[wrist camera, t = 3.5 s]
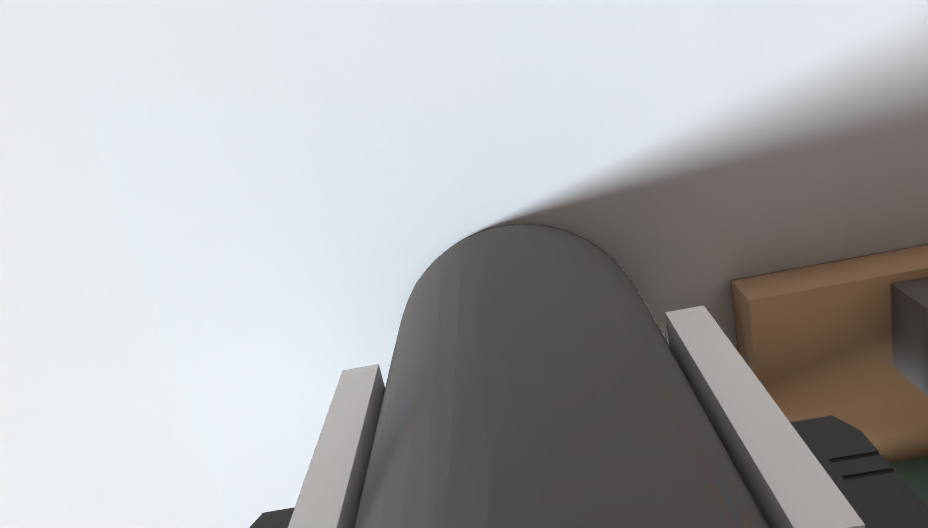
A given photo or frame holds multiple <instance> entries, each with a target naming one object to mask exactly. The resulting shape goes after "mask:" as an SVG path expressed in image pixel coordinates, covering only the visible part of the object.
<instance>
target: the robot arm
mask: <svg viewBox="0 0 928 528" xmlns="http://www.w3.org/2000/svg"><path fill="white" fill-rule="evenodd" d="M665 314H666V322H667V330H668V338H669V345H670V349H671V351H672V353H673V355H674V356H675V358H676V360H677V362H678V364H679V365H680V367H681V369H682V371H683V373H684V374H685V376H686V378H687V380H688V382H689V383H690V385H691V387H692V389H693V391H694V392H695V394H696V396H697V398H698V400H699V401H700V403H701V405H702V407H703V409H704V410H705V412H706V414H707V416H708V418H709V419H710V421H711V423H712V425H713V427H714V428H715V430H716V432H717V434H718V436H719V437H720V439H721V441H722V443H723V445H724V447H725V448H726V450H727V452H728V454H729V456H730V457H731V459H732V461H733V463H734V465H735V466H736V468H737V470H738V472H739V474H740V475H741V477H742V479H743V481H744V483H745V484H746V486H747V488H748V490H749V492H750V493H751V495H752V497H753V499H754V501H755V502H756V504H757V506H758V508H759V510H760V511H761V513H762V515H763V517H764V519H765V520H766V522H767V524H768V526H769V528H928V506H927V505H926V504H925V503H924V502H923V500H922V499H921V498H920V497H919V496H918V495H917V494H916V493H915V491H914V490H913V489H912V488H911V487H910V486H909V485H908V483H907V482H906V481H905V480H904V479H903V478H902V477H901V476H900V474H899V473H898V472H895V471H894V468H893V466H892V465H891V464H890V463H889V462H888V461H887V460H886V459H885V457H884V456H883V455H880V454H879V451H878V449H877V448H876V447H875V446H874V445H873V444H872V443H871V442H870V440H869V439H868V438H867V437H866V436H865V435H864V434H863V432H862V431H861V430H859V429H857V428H855V427H853V426H851V425H849V424H848V423H846V422H844V421H842V420H840V419H838V418H836V417H834V416H833V415H831V416H825V417H819V418H813V419H807V420H801V421H795V422H789V420H788V419H787V418H786V416H785V415H784V414H783V412H782V411H781V410H780V408H779V407H778V406H777V404H776V403H775V401H774V400H773V399H772V397H771V396H770V395H769V393H768V392H767V391H766V389H765V388H764V386H763V385H762V384H761V382H760V381H759V380H758V378H757V377H756V376H755V374H754V373H753V371H752V370H751V369H750V367H749V366H748V365H747V363H746V362H745V361H744V359H743V358H742V356H741V355H740V354H739V352H738V351H737V350H736V348H735V347H734V346H733V344H732V343H731V342H730V340H729V339H728V337H727V336H726V335H725V333H724V332H723V331H722V329H721V328H720V327H719V325H718V324H717V322H716V321H715V320H714V318H713V317H712V316H711V314H710V313H709V312H708V310H707V309H706V307H705V306H704V305H703V306H697V307H692V308H686V309H681V310H675V311H669V312H665ZM384 392H385V386H384V383H383V379H382V375H381V371H380V368H379V364H377V365H372V366H366V367H361V368H355V369H350V370H344V371H342V374H341V376H340V379H339V382H338V385H337V388H336V391H335V394H334V397H333V399H332V402H331V405H330V408H329V411H328V414H327V417H326V420H325V422H324V425H323V428H322V431H321V434H320V437H319V440H318V442H317V445H316V448H315V451H314V454H313V457H312V460H311V463H310V465H309V468H308V471H307V474H306V477H305V480H304V483H303V486H302V488H301V491H300V494H299V497H298V500H297V503H296V506H295V508H289V509H283V510H277V511H271V512H265V513H262V514H261V516H260V517H259V518H258V519H257V520H256V521H255V522H254V523H253V524H252V525H251V527H250V528H355V524H356V519H357V514H358V510H359V505H360V501H361V496H362V491H363V487H364V482H365V478H366V473H367V469H368V464H369V459H370V455H371V450H372V446H373V441H374V436H375V432H376V428H377V423H378V419H379V414H380V410H381V405H382V401H383V396H384Z"/></svg>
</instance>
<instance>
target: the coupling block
mask: <svg viewBox="0 0 928 528" xmlns="http://www.w3.org/2000/svg"><path fill="white" fill-rule="evenodd" d="M731 283H732V293H733V304H734V314H735V325H736V335H737V345H738V352H739V354H740V355H741V356H742V358H743V359H744V361H745V362H746V363H747V365H748V366H749V367H750V369H751V370H752V371H753V373H754V374H755V376H756V377H757V378H758V380H759V381H760V382H761V384H762V385H763V386H764V388H765V389H766V391H767V392H768V393H769V395H770V396H771V397H772V399H773V400H774V401H775V403H776V404H777V406H778V407H779V408H780V410H781V411H782V412H783V414H784V415H785V416H786V418H787V419H788V420H789V422H795V421H801V420H807V419H813V418H819V417H825V416H831V415H833V416H834V417H836V418H838V419H840V420H842V421H844V422H846V423H848V424H849V425H851V426H853V427H855V428H857V429H859V430H861V431H862V432H863V434H864V435H865V436H866V437H867V438H868V439H869V440H870V442H871V443H872V444H873V445H874V446H875V447H876V448H877V449H878V451H879V454H880V455H883V456H884V457H885V459H886V460H887V461H888V462H889V463H890V464H891V465H892V466H893V468H894V471H895V472H898V473H899V474H900V476H901V477H902V478H903V479H904V480H905V481H906V482H907V483H908V485H909V486H910V487H911V488H912V489H913V490H914V491H915V493H916V494H917V495H918V496H919V497H920V498H921V499H922V500H923V502H924V503H925V504H926V505H927V506H928V245H923V246H918V247H912V248H907V249H901V250H896V251H890V252H885V253H879V254H874V255H869V256H863V257H858V258H852V259H847V260H841V261H836V262H830V263H825V264H820V265H814V266H809V267H803V268H798V269H792V270H787V271H781V272H776V273H770V274H765V275H760V276H754V277H749V278H743V279H738V280H732V281H731Z"/></svg>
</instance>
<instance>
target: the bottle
mask: <svg viewBox="0 0 928 528" xmlns="http://www.w3.org/2000/svg"><path fill="white" fill-rule="evenodd" d="M355 528H769V526H768V524H767V522H766V520H765V519H764V517H763V515H762V513H761V511H760V510H759V508H758V506H757V504H756V502H755V501H754V499H753V497H752V495H751V493H750V492H749V490H748V488H747V486H746V484H745V483H744V481H743V479H742V477H741V475H740V474H739V472H738V470H737V468H736V466H735V465H734V463H733V461H732V459H731V457H730V456H729V454H728V452H727V450H726V448H725V447H724V445H723V443H722V441H721V439H720V437H719V436H718V434H717V432H716V430H715V428H714V427H713V425H712V423H711V421H710V419H709V418H708V416H707V414H706V412H705V410H704V409H703V407H702V405H701V403H700V401H699V400H698V398H697V396H696V394H695V392H694V391H693V389H692V387H691V385H690V383H689V382H688V380H687V378H686V376H685V374H684V373H683V371H682V369H681V367H680V365H679V364H678V362H677V360H676V358H675V356H674V355H673V353H672V351H671V349H670V347H669V346H668V344H667V342H666V340H665V338H664V337H663V335H662V333H661V331H660V329H659V328H658V326H657V324H656V323H655V321H654V319H653V317H652V316H651V314H650V312H649V311H648V309H647V307H646V306H645V304H644V302H643V300H642V299H641V297H640V295H639V294H638V292H637V290H636V288H635V287H634V285H633V283H632V282H631V280H630V279H629V278H628V276H627V275H626V274H625V273H624V271H623V270H622V269H621V268H620V266H619V265H618V264H617V263H616V262H615V261H614V260H613V259H612V258H611V257H610V256H609V255H608V254H607V253H606V252H605V251H603V250H602V249H600V248H598V247H597V246H595V245H594V244H592V243H591V242H589V241H588V240H586V239H584V238H581V237H579V236H577V235H574V234H572V233H569V232H567V231H564V230H560V229H556V228H552V227H548V226H543V225H528V224H521V225H509V226H501V227H497V228H493V229H489V230H486V231H482V232H479V233H476V234H474V235H472V236H470V237H468V238H466V239H463V240H462V241H460V242H458V243H457V244H455V245H453V246H452V247H450V248H449V249H448V250H447V251H445V252H444V253H443V254H442V255H441V256H439V257H438V258H437V259H436V260H435V261H434V262H433V263H432V264H431V265H430V266H429V267H428V269H427V270H426V271H425V272H424V273H423V275H422V276H421V278H420V279H419V280H418V282H417V283H416V285H415V287H414V289H413V291H412V293H411V295H410V297H409V299H408V302H407V305H406V308H405V311H404V314H403V316H402V320H401V324H400V328H399V332H398V336H397V340H396V344H395V349H394V353H393V357H392V361H391V365H390V370H389V374H388V379H387V383H386V388H385V392H384V396H383V401H382V405H381V410H380V414H379V419H378V423H377V428H376V432H375V436H374V441H373V446H372V450H371V455H370V459H369V464H368V469H367V473H366V478H365V482H364V487H363V491H362V496H361V501H360V505H359V510H358V514H357V519H356V524H355Z"/></svg>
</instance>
